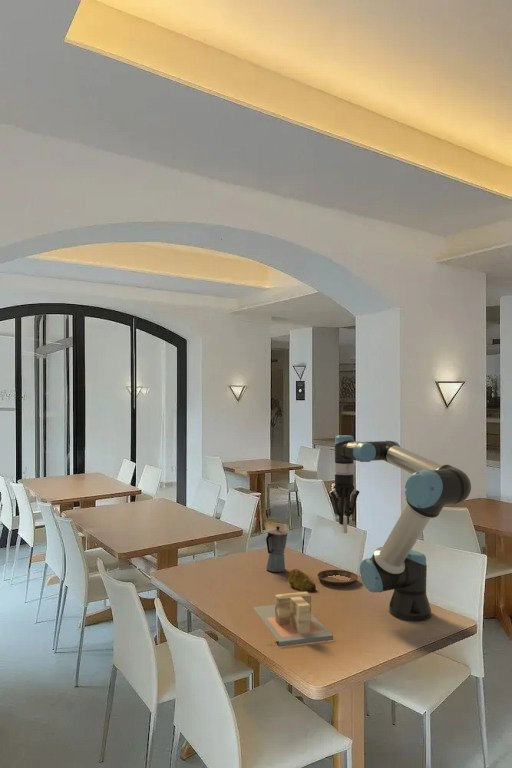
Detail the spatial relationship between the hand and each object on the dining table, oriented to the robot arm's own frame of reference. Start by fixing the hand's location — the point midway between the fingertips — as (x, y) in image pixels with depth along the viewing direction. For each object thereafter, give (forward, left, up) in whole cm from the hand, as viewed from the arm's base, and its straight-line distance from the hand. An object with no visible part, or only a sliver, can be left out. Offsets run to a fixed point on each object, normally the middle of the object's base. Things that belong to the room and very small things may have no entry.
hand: (344, 532), depth 215 cm
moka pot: (+43, -5, -26) cm, 51 cm away
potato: (+17, +7, -26) cm, 32 cm away
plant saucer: (+14, -14, -27) cm, 33 cm away
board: (-3, +35, -26) cm, 44 cm away
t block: (-8, +36, -25) cm, 45 cm away
